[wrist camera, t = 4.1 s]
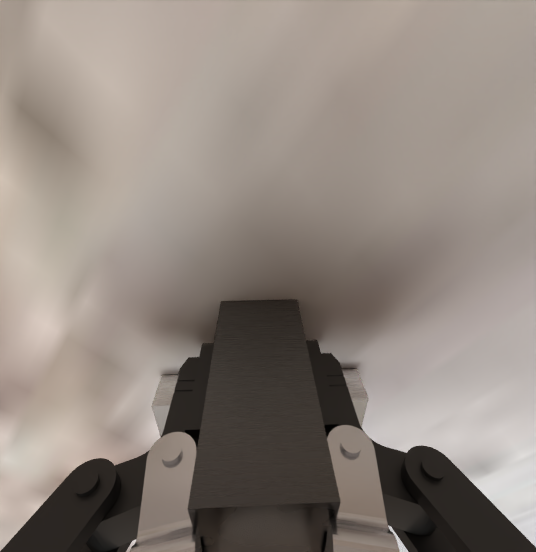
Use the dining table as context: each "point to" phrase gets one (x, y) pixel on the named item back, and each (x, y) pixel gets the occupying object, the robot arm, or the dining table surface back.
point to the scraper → (261, 436)
